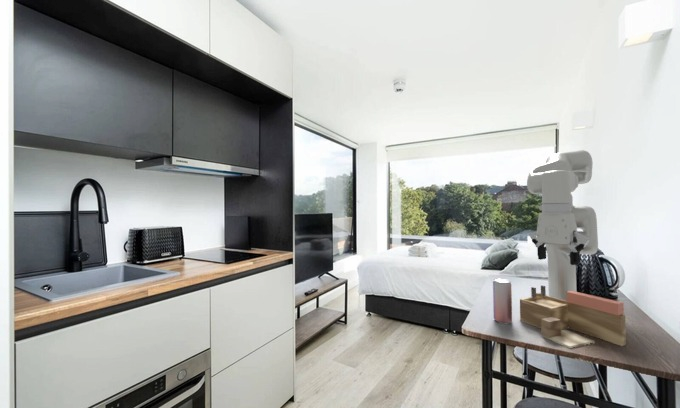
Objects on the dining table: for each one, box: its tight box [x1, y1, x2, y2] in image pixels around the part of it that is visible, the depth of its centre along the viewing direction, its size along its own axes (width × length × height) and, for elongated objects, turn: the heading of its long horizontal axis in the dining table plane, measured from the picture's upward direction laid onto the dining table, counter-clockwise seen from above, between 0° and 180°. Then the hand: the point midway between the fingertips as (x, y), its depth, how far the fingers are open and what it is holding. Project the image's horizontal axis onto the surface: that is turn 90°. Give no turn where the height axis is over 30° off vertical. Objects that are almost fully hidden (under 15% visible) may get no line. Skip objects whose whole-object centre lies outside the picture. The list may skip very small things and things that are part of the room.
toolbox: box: [519, 285, 627, 347], centre depth 98 cm, size 13×26×12 cm, turn 23°
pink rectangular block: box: [567, 291, 625, 316], centre depth 94 cm, size 3×14×4 cm, turn 23°
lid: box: [540, 317, 595, 349], centre depth 91 cm, size 11×9×6 cm
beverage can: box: [492, 278, 513, 325], centre depth 107 cm, size 6×6×15 cm
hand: (557, 261), depth 93 cm, fingers open, 9 cm apart
